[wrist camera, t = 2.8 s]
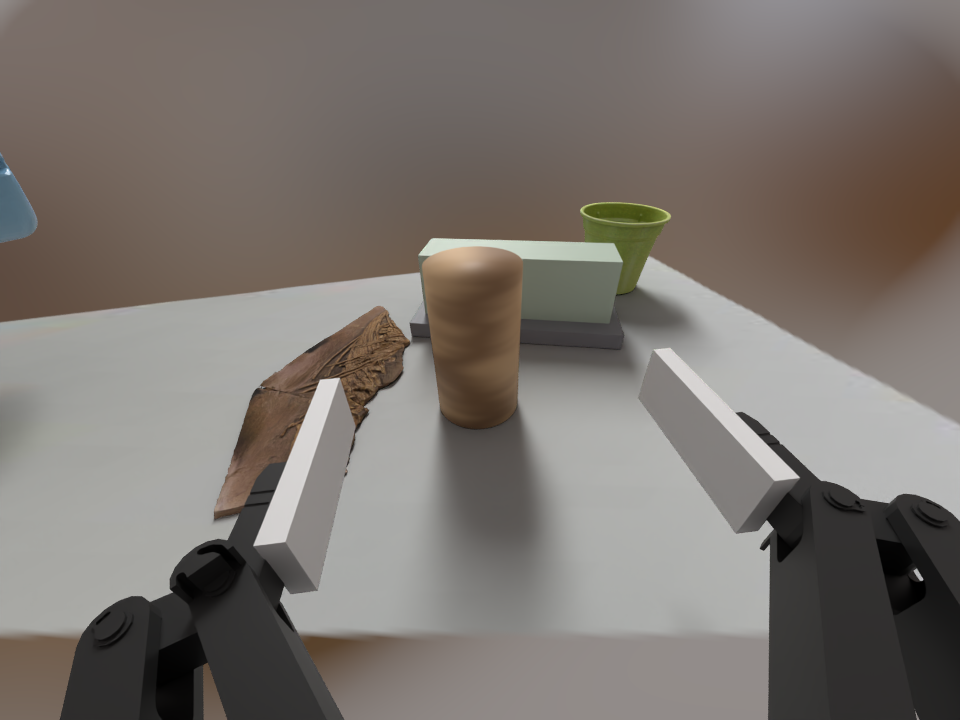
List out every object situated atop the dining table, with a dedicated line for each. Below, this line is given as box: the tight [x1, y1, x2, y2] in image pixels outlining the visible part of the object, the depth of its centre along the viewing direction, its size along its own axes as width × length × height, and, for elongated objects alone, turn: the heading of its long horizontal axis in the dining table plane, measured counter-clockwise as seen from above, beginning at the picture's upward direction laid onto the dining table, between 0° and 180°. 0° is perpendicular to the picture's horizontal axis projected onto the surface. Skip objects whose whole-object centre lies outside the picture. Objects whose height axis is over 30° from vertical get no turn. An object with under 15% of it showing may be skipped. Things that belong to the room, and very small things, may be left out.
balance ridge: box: [410, 238, 624, 349], centre depth 36 cm, size 20×9×8 cm, turn 82°
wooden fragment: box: [214, 306, 410, 519], centre depth 30 cm, size 26×11×1 cm, turn 170°
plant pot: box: [580, 202, 671, 294], centre depth 42 cm, size 9×9×9 cm
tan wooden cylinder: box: [422, 246, 523, 429], centre depth 24 cm, size 6×6×11 cm
